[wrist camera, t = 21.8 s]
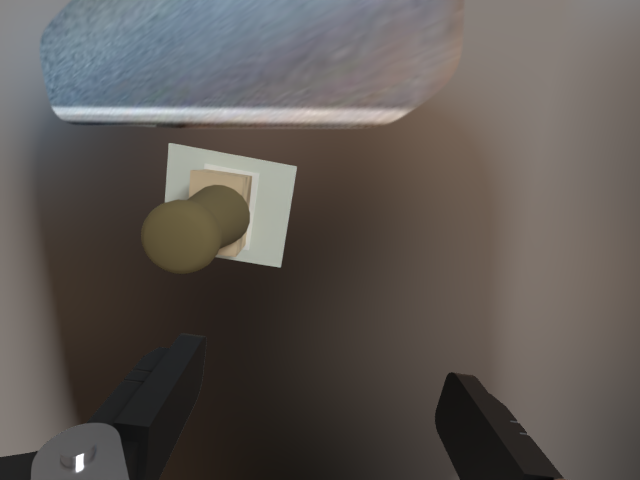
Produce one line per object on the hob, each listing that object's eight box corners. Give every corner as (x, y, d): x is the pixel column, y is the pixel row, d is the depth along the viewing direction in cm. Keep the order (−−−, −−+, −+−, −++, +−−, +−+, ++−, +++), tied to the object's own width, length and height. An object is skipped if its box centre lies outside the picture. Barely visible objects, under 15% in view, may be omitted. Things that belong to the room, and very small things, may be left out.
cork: (184, 237, 32) (120, 276, 21) (193, 177, 30) (129, 185, 20) (244, 251, 32) (211, 295, 21) (255, 192, 31) (227, 208, 20)
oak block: (206, 169, 35) (190, 170, 30) (252, 175, 35) (243, 177, 30) (202, 238, 37) (185, 250, 32) (245, 244, 37) (235, 257, 32)
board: (171, 143, 35) (168, 142, 34) (296, 166, 36) (296, 166, 35) (164, 246, 38) (161, 248, 37) (281, 265, 39) (280, 267, 38)
